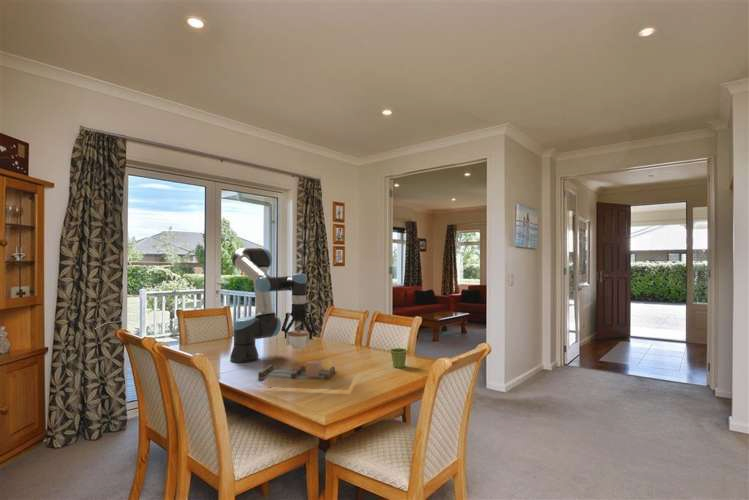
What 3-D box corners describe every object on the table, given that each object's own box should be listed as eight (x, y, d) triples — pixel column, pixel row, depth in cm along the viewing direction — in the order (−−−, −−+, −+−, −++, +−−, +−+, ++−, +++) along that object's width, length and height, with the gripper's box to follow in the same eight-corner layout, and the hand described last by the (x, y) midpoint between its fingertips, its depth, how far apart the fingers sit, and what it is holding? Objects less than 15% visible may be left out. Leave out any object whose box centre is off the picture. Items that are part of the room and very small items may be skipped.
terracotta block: (309, 372, 199) (309, 360, 199) (321, 372, 199) (321, 360, 199) (305, 376, 193) (305, 363, 193) (318, 376, 193) (318, 363, 193)
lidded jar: (304, 350, 210) (304, 331, 210) (284, 348, 212) (284, 330, 212) (311, 345, 220) (311, 328, 220) (292, 344, 222) (293, 327, 222)
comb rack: (270, 371, 206) (270, 364, 206) (334, 373, 202) (334, 366, 202) (258, 380, 191) (258, 372, 191) (327, 383, 187) (327, 375, 188)
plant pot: (392, 369, 211) (392, 352, 211) (388, 365, 220) (388, 348, 220) (409, 368, 213) (409, 351, 213) (404, 364, 222) (404, 347, 222)
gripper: (275, 303, 214) (274, 345, 213) (318, 304, 211) (318, 347, 211) (280, 301, 221) (279, 342, 221) (322, 302, 218) (321, 344, 218)
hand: (298, 345), depth 216 cm, fingers closed on lidded jar, 11 cm apart
